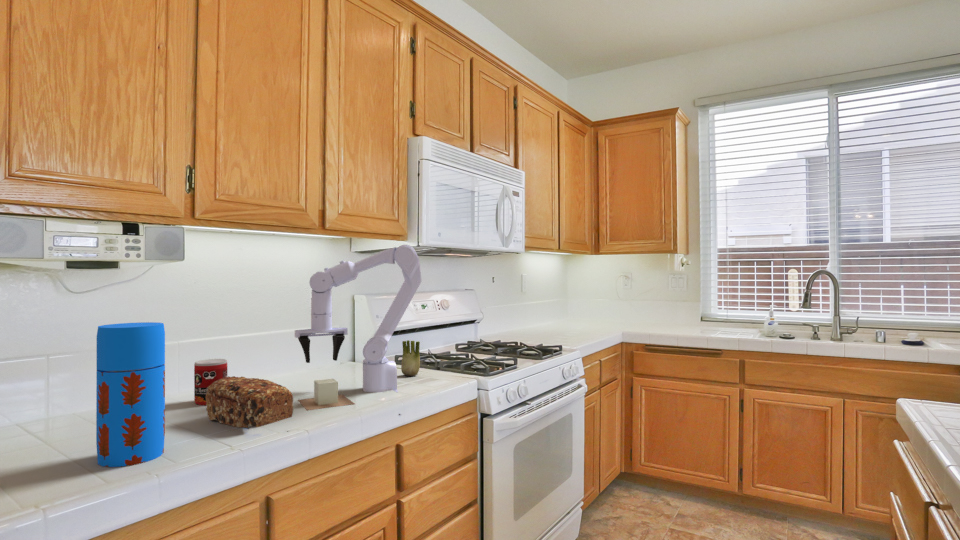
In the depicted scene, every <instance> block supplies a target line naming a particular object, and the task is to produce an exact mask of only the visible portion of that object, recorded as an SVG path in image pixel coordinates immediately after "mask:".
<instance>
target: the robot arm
mask: <svg viewBox="0 0 960 540" xmlns="http://www.w3.org/2000/svg"><path fill="white" fill-rule="evenodd" d="M396 263H397V265H398V267H399V268H400V269H401V272H402V275H403V279H404V281H403V283H402V284H401V286H400V288H399V290H398V292H397V294H396V295H395V297H394V299H393V301H392V303H391V304H390V307H389V308H388V310H387V312H386V314H385V316H384V317H383V319H382V321H381V323H380V324H379V326H378V328H377V330H376V331H375V334H374V335H373V337H371V338H369V340H367V342H366V343H365V344H364V346H363V347H362V356H363V358H364V359H363V360H362V391H364V392H367V393H381V392H385V391H391V390H392V391H394V392H395V393H398V392H399V391H398V369H397V364H396V362H395V361H394V360H389V359H388V358H387V357H386V354H387V351H388V344H389V341H390V339H391V338H392V336H393V334H394V332H395V330H396V329H397V327H398V325H399V323H400V321H401V319H402V318H403V315H404V314H405V313H406V310H407V309H408V307H409V305H410V303H411V302H412V299H413V298H414V295H416V292H417V291H418V289H419V287H420V285H421V283H422V272H421V264H420V258H419V255H418V254H417V251H416V250H415V248H414V247H413V246H411V245H408V244H401V245H399V246H398V247H396V246H395V247H390V248H387V249H383V250H381V251H379V252H376V253H374V254H373V255H370V256H368V257H365V258H363V259H361V260H359V261H357V262H353V261H351V260H347V261H345V260H341V261H339V264H337V265H334V266H332V267H325V268H323V270H324V271H317V272H315V273H313V274H312V275H311V276H310V278H309V282H308V283H309V286H310V289H311V298H310V328H307V329H297V330H296V329H295V330H294V338H295V339H296V338H297V339H298V341H299V343H300V346H301V348H302V351H303V355H304V359H305V363H307V364H310V363H311V356H310V354H311V353H310V350H311V348H310V347H311V346H310V345H311V339H310V337H322V336H323V337H324V336H325V337H326V336H331V337H332V338H331V339H332V346H333V347H332V360H333V361H334V362H335V361H338V356H339V353H340V349H341V347H342V345H343V342H344V341H345V340H346V337H345V335H346V336H347V335H348V334H349V332H348V331H349V330H348V327H333V314H332V313H333V297H332V289H333V287H334V288H337V287H340V286H342V285H344V284H347V283H350V282H351V281H355V280H356V279H357V277H359V273H362V272H365V271H367V270H370V269H373V268H376V267H378V266H381V265H383V264H388V265H389V264H390V265H391V264H392V265H395V264H396Z"/></svg>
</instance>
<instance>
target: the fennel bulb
mask: <svg viewBox="0 0 960 540" xmlns="http://www.w3.org/2000/svg"><path fill="white" fill-rule="evenodd" d="M420 342H421V341H417V340H416V341H415V340H403V341H402V343H401V344H402V358H401V362H400V363H401V365H400V366H401V369H400V370H401V373H402V374H403V376H406V377H414V376H418V374H419V371H420V367H421V355H420V354H421V353H420V344H421V343H420Z"/></svg>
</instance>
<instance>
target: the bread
mask: <svg viewBox="0 0 960 540" xmlns="http://www.w3.org/2000/svg"><path fill="white" fill-rule="evenodd" d="M293 401H294V396H293V394H292V392H291V391H290V390H289V389H288V388H287V387H286V386H283V385H282V384H278V383H275V382H273V381H271V380H269V379H262V378H254V377H250V378H249V377H245V376H228V375H227V377H226V378H222V379H219V380H217V381H214V382H213V383H212V384H211V385H210V386H208V391H207V394H206V402H207V403H206V405H205V406H206V408H205V410H206V412H207V416H208V418H209V420H210V421H211V422H214V421H217V422H218V423H220V424H223V425H229V426H231V427H236V428H239V429H244V428H246V429H249V428H250V427H255V428H261V427H264V426H267V425H269V424H270V425H271V424H273V423H276V422H280V421H283V420H286V419H289V418H292V417H293V413H294V412H293V411H294V406H293ZM249 426H250V427H249Z"/></svg>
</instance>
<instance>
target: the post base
mask: <svg viewBox="0 0 960 540" xmlns="http://www.w3.org/2000/svg"><path fill="white" fill-rule="evenodd" d="M297 401H298V402H299V403H300V404H301V406H302V407H303V408H304V409H305V410H306V411H312V410H313V411H314V410H320V409H321V410H322V409H329V408H337V407H344V406H352V405H356V403H354V402H353V400H351V399H349V398H348V396H345V395H344V394H338V403H332V404H324V405H318V404H317V403H316V402H315V401H314V397H312V398H311V397H310V398H303V399H302V398H301V399H298V400H297Z"/></svg>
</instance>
